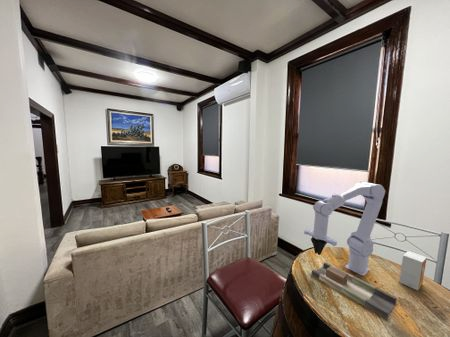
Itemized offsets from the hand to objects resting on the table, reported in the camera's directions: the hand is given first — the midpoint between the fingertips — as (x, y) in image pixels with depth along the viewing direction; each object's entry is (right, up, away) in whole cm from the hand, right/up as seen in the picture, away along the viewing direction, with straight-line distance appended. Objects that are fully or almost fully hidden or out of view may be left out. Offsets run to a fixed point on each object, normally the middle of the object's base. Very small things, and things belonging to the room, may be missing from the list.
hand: (317, 253), depth 89 cm
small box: (+40, -11, -5) cm, 42 cm away
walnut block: (+5, -9, -7) cm, 12 cm away
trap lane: (+8, -10, -11) cm, 17 cm away
